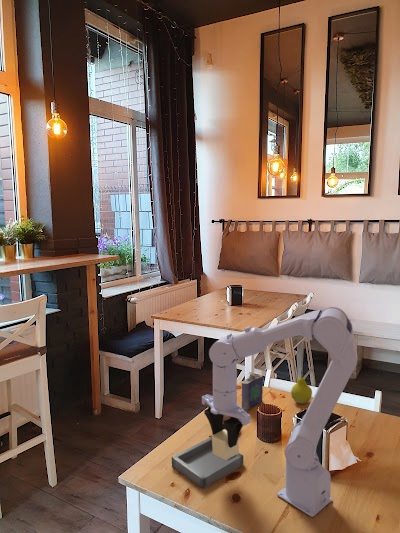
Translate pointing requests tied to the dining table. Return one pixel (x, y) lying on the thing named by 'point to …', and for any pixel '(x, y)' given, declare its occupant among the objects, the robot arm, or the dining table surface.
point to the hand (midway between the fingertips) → (224, 441)
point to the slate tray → (204, 464)
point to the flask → (252, 391)
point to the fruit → (301, 391)
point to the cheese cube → (223, 446)
